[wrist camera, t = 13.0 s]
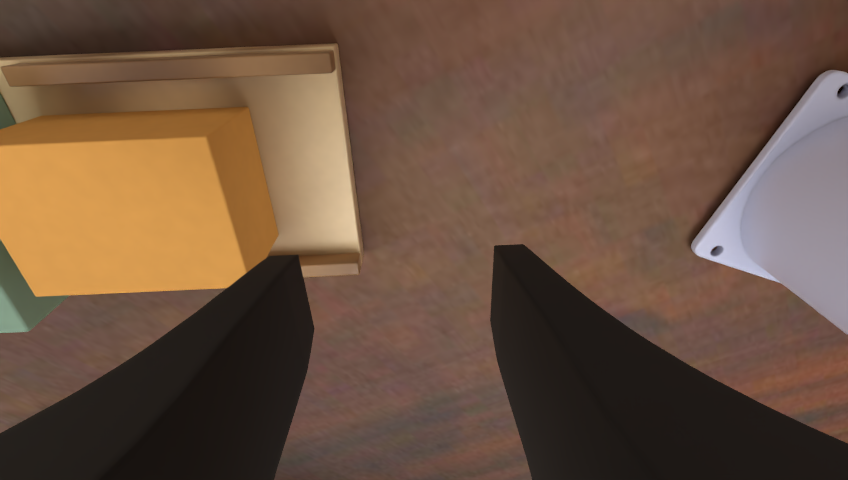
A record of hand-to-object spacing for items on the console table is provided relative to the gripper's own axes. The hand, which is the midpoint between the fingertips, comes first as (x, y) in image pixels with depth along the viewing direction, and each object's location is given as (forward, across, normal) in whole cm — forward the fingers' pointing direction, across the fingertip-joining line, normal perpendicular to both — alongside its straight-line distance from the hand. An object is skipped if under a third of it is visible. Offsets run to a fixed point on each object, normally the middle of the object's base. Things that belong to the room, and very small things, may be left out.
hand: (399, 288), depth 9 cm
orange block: (+7, +9, 0) cm, 11 cm away
